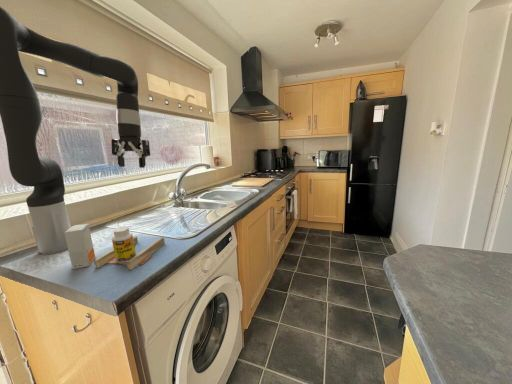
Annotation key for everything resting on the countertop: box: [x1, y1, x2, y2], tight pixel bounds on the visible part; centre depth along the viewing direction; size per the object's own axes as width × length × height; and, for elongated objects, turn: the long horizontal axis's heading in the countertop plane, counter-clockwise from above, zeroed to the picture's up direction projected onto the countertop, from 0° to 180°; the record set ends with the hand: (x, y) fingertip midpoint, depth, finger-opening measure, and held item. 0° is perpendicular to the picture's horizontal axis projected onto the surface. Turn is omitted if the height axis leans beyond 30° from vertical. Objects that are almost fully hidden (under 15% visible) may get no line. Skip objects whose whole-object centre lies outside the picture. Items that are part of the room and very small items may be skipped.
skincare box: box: [64, 223, 96, 270], centre depth 64 cm, size 6×4×12 cm
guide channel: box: [93, 235, 165, 271], centre depth 70 cm, size 15×17×2 cm
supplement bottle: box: [111, 226, 137, 263], centre depth 66 cm, size 6×6×10 cm
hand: (132, 167), depth 80 cm, fingers open, 8 cm apart
